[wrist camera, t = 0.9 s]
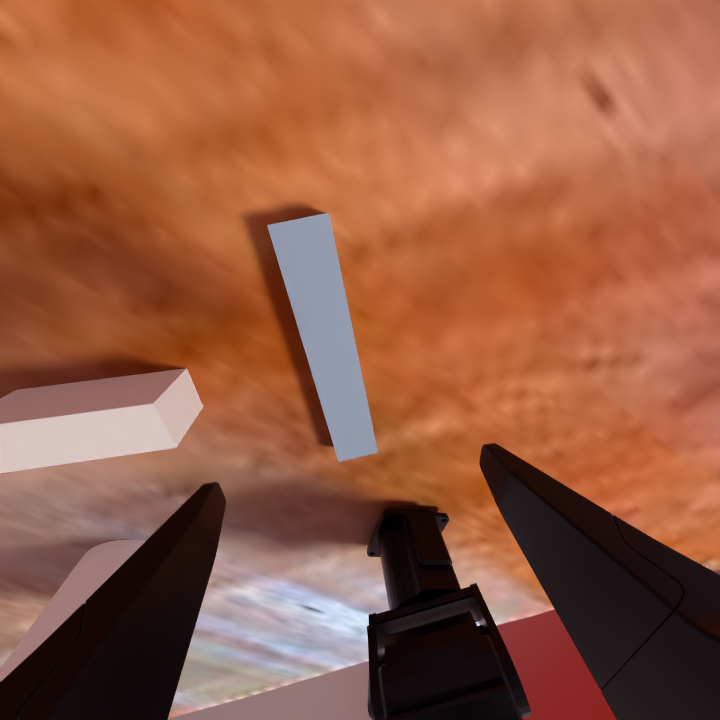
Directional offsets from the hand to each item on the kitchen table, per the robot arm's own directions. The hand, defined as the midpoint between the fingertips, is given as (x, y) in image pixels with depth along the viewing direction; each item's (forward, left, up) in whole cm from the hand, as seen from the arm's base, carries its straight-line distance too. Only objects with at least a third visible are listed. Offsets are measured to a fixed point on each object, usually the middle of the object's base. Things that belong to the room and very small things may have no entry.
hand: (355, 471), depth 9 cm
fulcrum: (-6, +13, -11) cm, 18 cm away
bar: (0, 0, -11) cm, 11 cm away
